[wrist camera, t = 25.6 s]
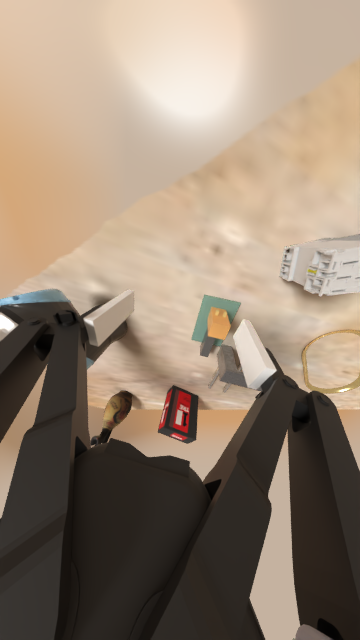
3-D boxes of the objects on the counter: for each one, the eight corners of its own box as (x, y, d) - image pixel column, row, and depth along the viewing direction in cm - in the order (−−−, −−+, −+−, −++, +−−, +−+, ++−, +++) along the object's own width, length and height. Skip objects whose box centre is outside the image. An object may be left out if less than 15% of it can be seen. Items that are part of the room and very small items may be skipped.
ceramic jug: (112, 386, 88) (75, 444, 63) (132, 389, 85) (102, 451, 60) (119, 399, 97) (89, 454, 72) (138, 402, 94) (114, 461, 69)
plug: (198, 345, 54) (196, 365, 46) (212, 302, 43) (214, 318, 35) (209, 348, 54) (210, 368, 46) (227, 306, 43) (232, 322, 34)
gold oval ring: (304, 392, 59) (307, 395, 58) (297, 337, 45) (300, 340, 44) (361, 387, 52) (365, 390, 51) (373, 320, 38) (379, 323, 37)
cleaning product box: (167, 391, 79) (157, 432, 62) (173, 385, 74) (164, 427, 58) (191, 401, 81) (187, 443, 64) (198, 396, 76) (196, 440, 59)
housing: (202, 384, 69) (202, 409, 58) (221, 344, 52) (226, 370, 42) (230, 391, 68) (234, 418, 58) (258, 353, 51) (272, 382, 41)
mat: (191, 339, 53) (191, 339, 53) (204, 294, 42) (204, 295, 42) (219, 345, 53) (220, 346, 52) (240, 302, 42) (240, 303, 41)
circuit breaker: (344, 266, 32) (431, 283, 20) (279, 276, 36) (318, 296, 23) (358, 231, 29) (476, 225, 16) (284, 246, 32) (333, 251, 20)
